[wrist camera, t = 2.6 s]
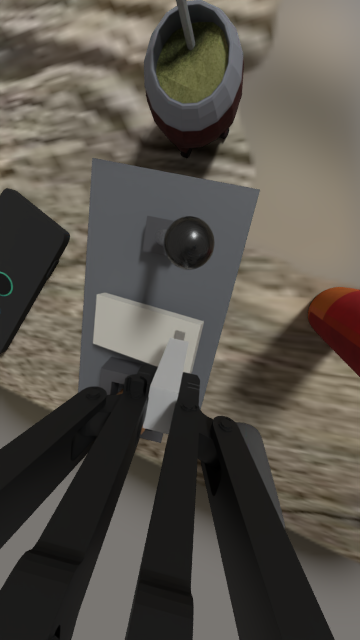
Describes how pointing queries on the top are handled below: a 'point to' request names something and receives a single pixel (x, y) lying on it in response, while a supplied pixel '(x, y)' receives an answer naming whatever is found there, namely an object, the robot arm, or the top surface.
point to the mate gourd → (194, 74)
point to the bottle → (261, 462)
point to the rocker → (143, 329)
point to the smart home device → (24, 259)
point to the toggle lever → (187, 242)
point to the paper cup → (339, 322)
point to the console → (158, 260)
